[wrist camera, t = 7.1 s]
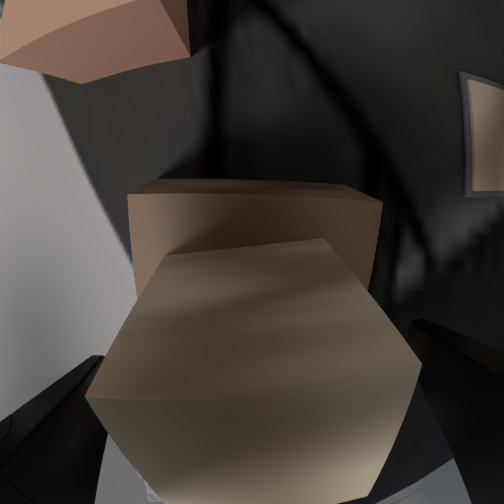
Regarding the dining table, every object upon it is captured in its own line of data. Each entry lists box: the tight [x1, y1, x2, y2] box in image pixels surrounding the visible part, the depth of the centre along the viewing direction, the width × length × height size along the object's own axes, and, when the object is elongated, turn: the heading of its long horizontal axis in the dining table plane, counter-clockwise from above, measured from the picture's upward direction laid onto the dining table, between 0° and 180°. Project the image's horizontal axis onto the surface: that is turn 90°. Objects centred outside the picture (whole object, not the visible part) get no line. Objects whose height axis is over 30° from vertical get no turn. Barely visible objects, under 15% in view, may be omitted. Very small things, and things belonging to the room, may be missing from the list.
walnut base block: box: [128, 179, 383, 298], centre depth 12 cm, size 8×8×4 cm
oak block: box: [85, 238, 422, 504], centre depth 7 cm, size 5×5×6 cm
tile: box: [458, 71, 504, 198], centre depth 12 cm, size 7×7×1 cm
